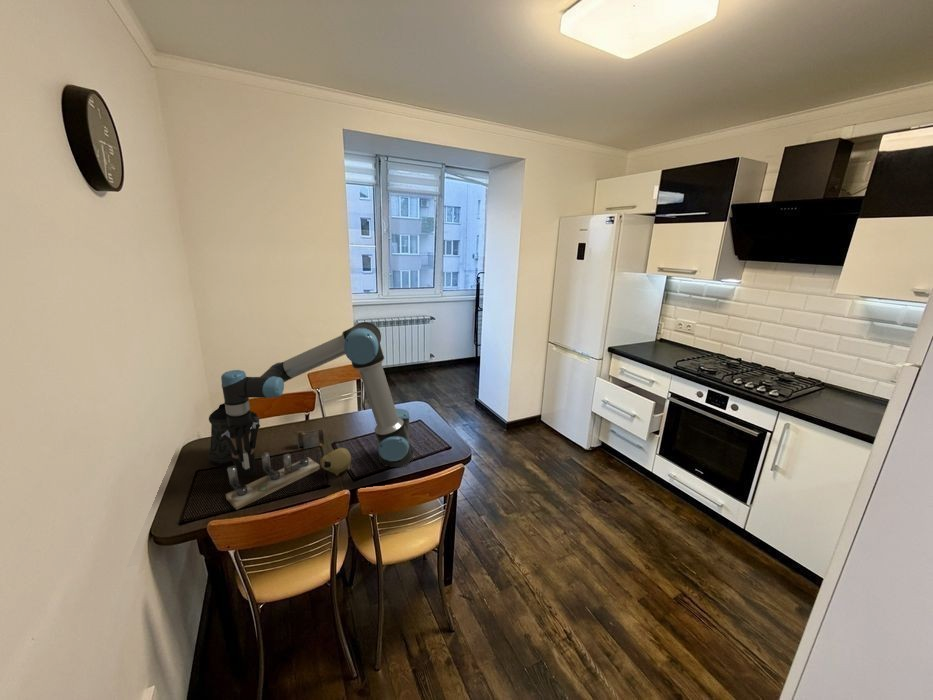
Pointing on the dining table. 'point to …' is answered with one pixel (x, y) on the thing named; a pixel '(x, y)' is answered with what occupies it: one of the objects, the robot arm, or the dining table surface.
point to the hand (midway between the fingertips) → (246, 467)
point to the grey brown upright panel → (311, 438)
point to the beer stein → (221, 438)
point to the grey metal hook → (269, 466)
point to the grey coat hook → (290, 468)
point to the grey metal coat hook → (236, 481)
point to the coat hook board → (270, 484)
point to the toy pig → (336, 461)
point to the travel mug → (240, 470)
